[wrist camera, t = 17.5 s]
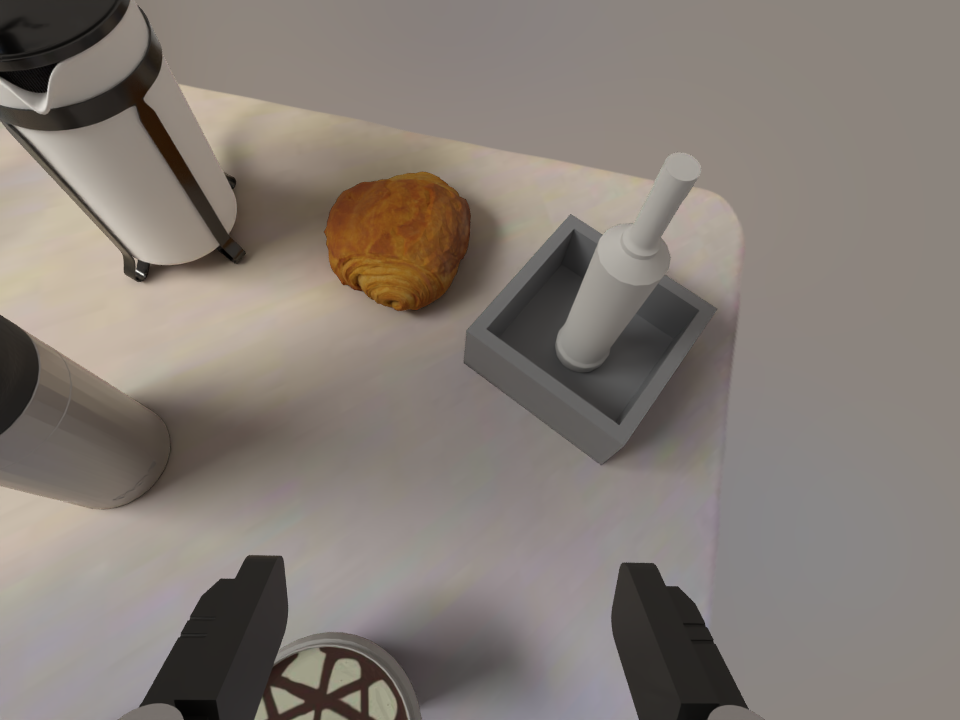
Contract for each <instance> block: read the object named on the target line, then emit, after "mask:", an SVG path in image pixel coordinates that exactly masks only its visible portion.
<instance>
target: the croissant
mask: <svg viewBox="0 0 960 720" xmlns="http://www.w3.org/2000/svg"><path fill="white" fill-rule="evenodd" d="M470 218H471V215H470V208H469V205H468V203H467V201H466V199H463V198H462V197H459V194H458V192H457V191H456V190H455V189H454V188H452V187H450V186H448V184H447V183H446V182H444V181H443V180H441V179H440V178H439V177H437V176H435V175H433V174H430V173H427V172H419V173H407V174H403V175H397V176H394V177H392V178H390V179H381V180H378V181H373V182H362V183H359V184H357V185H356V186H354V187H352V188H350V189H348V190H346V191H343V192H342V194H341V195H340V196H339V197H338V199H337V201H336V203H335V204H334V206H333V207H332V208H331V211H330V214H329V218H328V221H327V227H326V229H325V231H324V233H325V235H326V237H327V242H326V245H327V247H328V249H329V262H330V265H331V268H332V270H333V272H334V273H335V274H336V275H337V276H338V278H339V279H340V281H341V283H342V284H343V285H349V286H350V287H351V288H353V289H354V290H359V291H364V293H365V294H366V295H367V296H368V297H370V298H371V299H373V300H375V301H376V302H377V303H378V304H382V305H384V306H388V307H393V308H394V309H395V310H397V311H404V310H408V309H411V310H418V309H420V308H422V307H424V306H427V305H429V304H430V303H432V302H434V301H435V300H437V299H438V298H440V297H441V296H442V295H443V294H444V293H445V292H446V291H447V289H448V288H449V287H450V285H451V283H452V281H453V279H454V276H455V275H456V273H457V271H458V270H457V269H458V266H459V263H460V260H461V259H463V258H464V256H465V254H466V251H467V248H468V243H469V235H470Z"/></svg>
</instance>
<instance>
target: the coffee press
mask: <svg viewBox="0 0 960 720" xmlns="http://www.w3.org/2000/svg"><path fill="white" fill-rule="evenodd" d="M0 121H1V122H2V123H3V125H4V126H5V127H6V129H7V130H8V131H9V132H10V133H11V134H12V136H13V137H14V138H15V139H16V140H17V141H18V142H19V143H20V144H21V145H22V146H23V147H24V148H25V149H26V150H27V152H28V153H29V154H30V155H31V156H32V157H33V158H34V159H35V160H36V161H37V162H38V163H39V164H40V165H41V167H42V168H43V169H44V170H45V171H46V172H47V173H48V174H49V175H50V176H51V177H52V178H53V179H54V180H55V181H56V183H57V184H58V185H59V186H60V187H61V188H62V189H63V190H64V191H65V192H66V193H67V194H68V195H69V196H70V198H71V199H72V200H73V201H74V202H75V203H76V204H77V205H78V206H79V207H80V208H81V209H82V210H83V211H84V212H85V214H86V215H87V216H88V217H89V218H90V219H91V220H92V221H93V222H94V223H95V224H96V225H97V226H98V227H99V229H100V230H101V231H102V232H103V233H104V234H105V235H106V236H107V237H108V238H109V239H110V240H111V241H112V242H113V243H114V245H115V246H116V247H117V248H118V249H119V250H120V251H121V253H122V254H123V259H124V273H125V275H127V276H128V277H130V278H132V279H134V280H135V281H137V282H141V281H143V280H144V279H145V278H146V277H147V275H148V271H149V266H150V263H151V264H157V265H177V264H183V263H187V262H191V261H194V260H197V259H199V258H201V257H203V256H205V255H207V254H209V253H210V252H212V251H213V250H214V249H217V250H218V251H220V252H221V253H222V254H223V255H224V256H226V257H227V258H228V259H229V260H230V261H232V262H233V263H236V264H237V263H238V262H239V261H240V260H241V259H242V257H243V256H244V255H245V254H246V253H245V251H244V250H243V249H242V248H241V247H240V246H239V245H238V244H237V243H236V242H235V241H234V240H233V239H232V238H231V237H230V236H229V233H230V232H231V230H232V228H233V226H234V223H235V219H236V214H237V203H236V198H235V195H234V193H233V190H232V189H233V188H234V187H235V185H236V179H235V178H234V177H232V176H230V175H228V174H226V173H225V172H223V170H222V168H221V166H220V164H219V163H218V161H217V159H216V157H215V155H214V153H213V151H212V149H211V147H210V145H209V143H208V141H207V139H206V137H205V135H204V133H203V132H202V130H201V128H200V126H199V124H198V122H197V120H196V118H195V116H194V114H193V112H192V110H191V108H190V106H189V105H188V103H187V101H186V99H185V97H184V95H183V93H182V91H181V89H180V87H179V85H178V83H177V81H176V79H175V78H174V76H173V74H172V72H171V70H170V68H169V66H168V64H167V62H166V60H165V59H164V56H163V54H162V49H161V45H160V42H159V40H158V38H157V36H156V34H155V32H154V30H153V28H152V26H151V24H150V22H149V21H148V18H147V17H146V15H145V13H144V12H143V11H142V9H141V8H140V7H139V6H138V5H137V4H136V2H135V0H0ZM132 256H133V257H134V258H136V259H138V263H137V268H136V271H135V260H134V258H133V257H132Z"/></svg>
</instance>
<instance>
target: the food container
mask: <svg viewBox="0 0 960 720" xmlns="http://www.w3.org/2000/svg"><path fill="white" fill-rule="evenodd" d="M254 720H422V717H421V713H420V708H419V704H418V700H417V697H416V695H415V692H414V689H413V687H412V684H411V682H410V681H409V679H408V677H407V675H406V674H405V672H404V670H403V669H402V668H401V666H400V665H399V664H398V663H397V661H396V660H395V659H394V658H393V657H392V656H391V655H390V654H389V653H387V652H386V651H385V650H384V649H383V648H381V647H380V646H378V645H377V644H375V643H373V642H372V641H370V640H367V639H365V638H362V637H360V636H357V635H352V634H347V633H338V632H327V633H320V634H314V635H310V636H307V637H304V638H301V639H298V640H296V641H294V642H292V643H290V644H288V645H286V646H284V647H283V648H282V649H280V650H279V651H278V653H277V656H276V659H275V662H274V665H273V668H272V670H271V673H270V676H269V679H268V682H267V685H266V688H265V690H264V693H263V696H262V699H261V702H260V705H259V707H258V710H257V713H256V716H255V719H254Z"/></svg>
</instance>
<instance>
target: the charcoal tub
mask: <svg viewBox="0 0 960 720" xmlns="http://www.w3.org/2000/svg"><path fill="white" fill-rule="evenodd" d="M601 237H602V234H601V233H599V232H598V231H596V230H595V229H593V228H592V227H590V226H588V225H587V224H585V223H584V222H582V221H581V220H579V219H578V218H576V217H574V216H573V215H571V214H570V215H569V216H568V218H567V219H566V220H565V221H564V222H563V223H562V224H561V225H560V226H559V228H558V229H557V230H556V231H555V232H554V233H553V234H552V235H551V237H550V238H549V239H548V240H547V241H546V242H545V243H544V244H543V246H542V247H541V248H540V249H539V250H538V251H537V252H536V253H535V254H534V256H533V257H532V258H531V259H530V260H529V261H528V262H527V263H526V265H525V266H524V267H523V268H522V269H521V270H520V271H519V272H518V274H517V275H516V276H515V277H514V278H513V279H512V280H511V281H510V283H509V284H508V285H507V286H506V287H505V288H504V289H503V290H502V291H501V293H500V294H499V295H498V296H497V297H496V298H495V299H494V300H493V302H492V303H491V304H490V305H489V306H488V307H487V308H486V309H485V311H484V312H483V313H482V314H481V315H480V316H479V317H478V318H477V319H476V321H475V322H474V323H473V324H472V325H471V326H470V327H469V328H468V330H467V331H466V341H465V353H464V363H465V364H466V365H468V366H469V367H470V368H472V369H473V370H474V371H476V372H477V373H478V374H480V375H481V376H482V377H484V378H485V379H486V380H488V381H489V382H490V383H492V384H493V385H494V386H496V387H497V388H498V389H500V390H501V391H502V392H504V393H505V394H506V395H508V396H509V397H510V398H512V399H513V400H515V401H516V402H517V403H519V404H520V405H521V406H523V407H524V408H525V409H527V410H528V411H529V412H531V413H532V414H533V415H535V416H536V417H537V418H539V419H540V420H541V421H543V422H544V423H545V424H547V425H548V426H549V427H551V428H552V429H553V430H555V431H556V432H557V433H559V434H560V435H562V436H563V437H564V438H566V439H567V440H568V441H570V442H571V443H572V444H574V445H575V446H576V447H578V448H579V449H580V450H582V451H583V452H584V453H586V454H587V455H588V456H590V457H591V458H592V459H594V460H595V461H596V462H598V463H599V464H600V465H602V464H603V463H604V462H605V461H607V460H608V459H609V458H610V457H611V456H613V455H614V454H615V453H616V452H617V451H619V450H620V449H621V448H622V447H624V446H625V444H626V443H627V441H628V440H629V438H630V437H631V435H632V434H633V432H634V431H635V429H636V428H637V426H638V425H639V423H640V422H641V421H642V419H643V418H644V416H645V415H646V413H647V412H648V410H649V409H650V407H651V406H652V404H653V403H654V401H655V400H656V399H657V397H658V396H659V394H660V393H661V391H662V390H663V388H664V387H665V385H666V384H667V382H668V381H669V379H670V378H671V376H672V375H673V374H674V372H675V371H676V369H677V368H678V366H679V365H680V363H681V362H682V360H683V359H684V357H685V356H686V354H687V353H688V352H689V350H690V349H691V347H692V346H693V344H694V343H695V341H696V340H697V338H698V337H699V335H700V334H701V332H702V331H703V329H704V328H705V327H706V325H707V324H708V322H709V321H710V319H711V318H712V316H713V315H714V313H715V312H716V310H717V308H715V307H714V306H712V305H711V304H709V303H708V302H706V301H705V300H703V299H701V298H700V297H698V296H697V295H695V294H694V293H692V292H691V291H689V290H688V289H686V288H684V287H683V286H681V285H680V284H678V283H677V282H675V281H674V280H672V279H670V278H669V277H667V276H666V275H664V276H663V278H662V279H661V280H660V282H659V283H658V284H657V286H656V287H655V288H654V290H653V291H652V292H651V294H650V295H649V296H648V298H647V299H646V300H645V302H644V303H643V305H642V306H641V307H640V309H639V310H638V311H637V313H636V314H635V315H634V317H633V318H632V319H631V321H630V322H629V323H628V325H627V326H626V327H625V329H624V330H623V331H622V333H621V334H620V336H619V337H618V338H617V340H616V341H615V342H614V344H613V345H612V346H611V348H610V353H609V356H608V357H607V358H606V360H605V361H604V362H603V363H602V365H601V366H600V367H598V368H596V369H594V370H592V371H590V372H582V373H579V372H575V371H571V370H569V369H568V368H567V367H565V366H564V365H562V363H561V362H560V360H559V359H558V357H557V354H556V349H555V343H556V339H557V335H558V332H559V330H560V329H561V328H562V327H563V325H564V324H565V323H566V321H567V318H568V316H569V313H570V311H571V308H572V306H573V303H574V301H575V298H576V296H577V294H578V291H579V289H580V286H581V284H582V281H583V279H584V276H585V274H586V271H587V269H588V267H589V264H590V262H591V259H592V257H593V254H594V252H595V249H596V247H597V244H598V242H599V240H600V238H601Z"/></svg>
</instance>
